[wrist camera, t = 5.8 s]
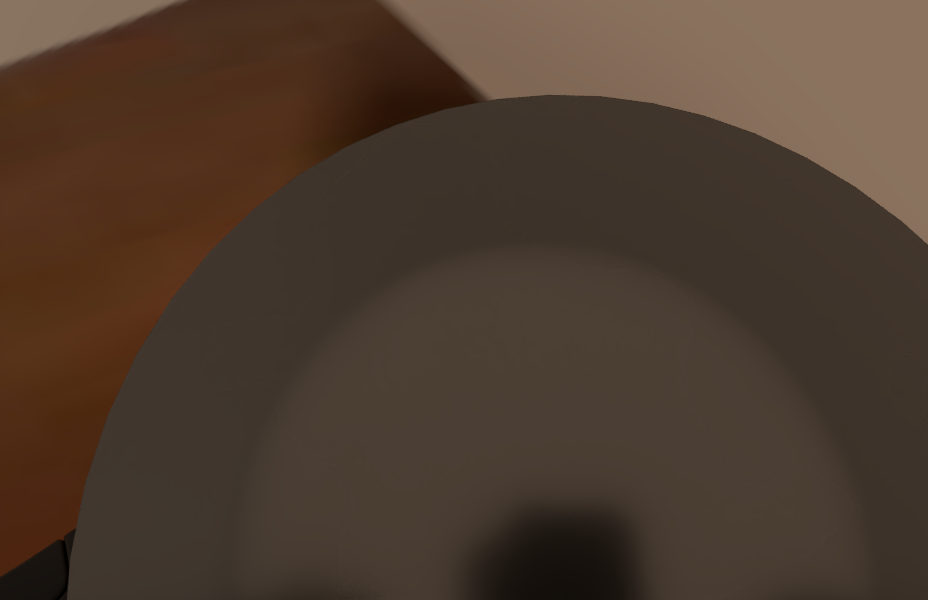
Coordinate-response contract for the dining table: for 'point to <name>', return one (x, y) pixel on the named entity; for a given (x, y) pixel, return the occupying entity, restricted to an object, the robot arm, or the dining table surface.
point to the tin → (531, 378)
